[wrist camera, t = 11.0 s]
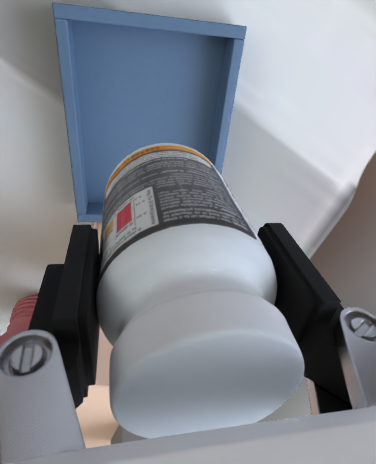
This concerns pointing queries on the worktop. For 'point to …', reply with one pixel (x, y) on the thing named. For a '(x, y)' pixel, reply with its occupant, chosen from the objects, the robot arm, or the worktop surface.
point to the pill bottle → (188, 301)
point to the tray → (141, 89)
